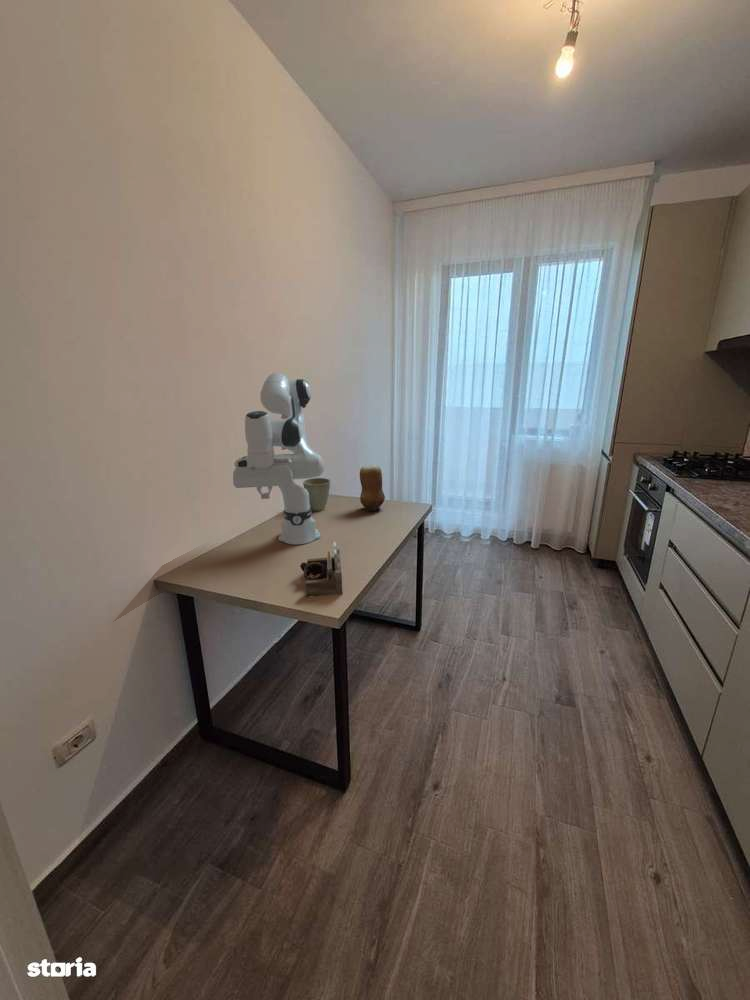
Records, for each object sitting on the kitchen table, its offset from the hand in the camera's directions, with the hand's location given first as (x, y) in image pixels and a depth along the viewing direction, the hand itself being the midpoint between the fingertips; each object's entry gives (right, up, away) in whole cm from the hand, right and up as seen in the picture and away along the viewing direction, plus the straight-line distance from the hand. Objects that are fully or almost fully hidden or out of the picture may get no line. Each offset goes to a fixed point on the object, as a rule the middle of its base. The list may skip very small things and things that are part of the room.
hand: (265, 498), depth 141 cm
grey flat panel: (+24, -30, +1) cm, 38 cm away
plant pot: (+7, -6, +82) cm, 82 cm away
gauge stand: (+22, -30, +1) cm, 37 cm away
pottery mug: (+17, -30, +2) cm, 34 cm away
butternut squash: (+38, -6, +78) cm, 87 cm away
